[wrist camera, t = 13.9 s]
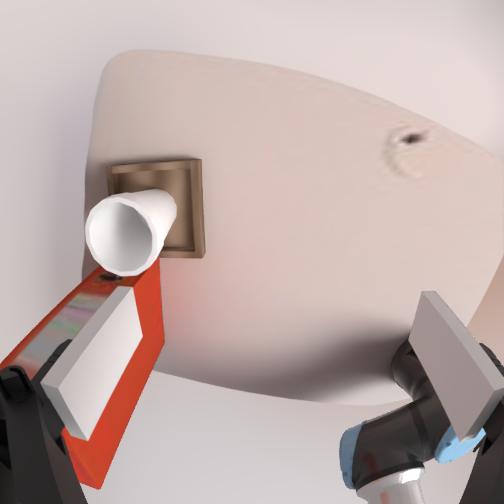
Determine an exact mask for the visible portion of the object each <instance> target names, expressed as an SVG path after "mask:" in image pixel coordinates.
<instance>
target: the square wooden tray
mask: <svg viewBox="0 0 504 504" xmlns="http://www.w3.org/2000/svg"><path fill="white" fill-rule="evenodd" d="M106 169H107V182H108V192H109V196H111V195H116V194H121V193H127V192H128V193H134V192H140V191H145V190H151V189H160V190H163V191H166V192H167V193H168V194H169V195H170V196H172V197H173V199H174V201H175V204H176V206H177V211H176V218H175V220H174V222H173V224H172V226H171V228H170V230H169V232H168V234H167V236H166V238H165V240H164V245H163V247H162V249H161V251H160V253H159V255H158V257H160V258H203V256H204V254H205V234H204V214H203V191H202V161H201V160H181V161H163V162H148V163H135V164H123V165H113V166H110V167H106Z"/></svg>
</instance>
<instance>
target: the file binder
mask: <svg viewBox="0 0 504 504" xmlns="http://www.w3.org/2000/svg"><path fill="white" fill-rule="evenodd" d="M118 286H124V287H133V291H134V297H135V302H136V307H137V312H138V317H139V321H140V326H141V330H142V335H143V337H142V339H141V341H140V342H139V344H138V346H137V348H136V350H135V351H134V353H133V355H132V357H131V359H130V361H129V362H128V364H127V366H126V368H125V370H124V372H123V374H122V375H121V377H120V379H119V381H118V383H117V385H116V387H115V389H114V391H113V392H112V394H111V396H110V398H109V400H108V402H107V404H106V406H105V408H104V410H103V412H102V414H101V416H100V418H99V420H98V422H97V424H96V426H95V428H94V430H93V432H92V434H91V436H90V438H89V440H88V441H86V440H83V439H80V438H77V437H74V436H71V435H70V433H69V432H68V430H67V429H66V427H64V428H63V430H62V432H61V433H62V435H63V437H64V439H65V442H66V446H67V449H68V452H69V455H70V458H71V461H72V464H73V467H74V470H75V473H76V475H77V478H78V481H79V482H80V483H82V484H85V485H87V486H90V487H93V488H95V489H98V490H99V489H101V487H102V484H103V482H104V479H105V477H106V474H107V472H108V469H109V467H110V464H111V462H112V460H113V458H114V455H115V452H116V450H117V448H118V446H119V443H120V441H121V438H122V436H123V434H124V432H125V429H126V427H127V425H128V422H129V420H130V418H131V415H132V413H133V411H134V409H135V406H136V404H137V402H138V400H139V397H140V395H141V393H142V391H143V389H144V386H145V384H146V382H147V380H148V378H149V375H150V373H151V371H152V369H153V367H154V364H155V362H156V360H157V358H158V356H159V354H160V352H161V349H162V347H163V345H164V343H165V340H164V329H163V317H162V303H161V288H160V268H159V257H157V259H156V260H155V261H154V262H153V264H152V265H151V266H150V267H149V268H147V269H146V270H144V271H143V272H141V273H140V274H138V275H136V276H119V275H117V274H114V273H112V272H109V271H107V270H105V269H104V268H103V267H102V266H101V265H100V266H99V267H98V268H97V269H96V270H95V271H93V272H92V273H91V274H90V275H89V276H88V277H87V278H86V279H85V280H83V281H82V282H81V283H80V284H79V285H78V286H77V287H76V288H75V289H74V290H73V291H72V292H70V293H69V294H68V295H67V296H66V297H65V298H64V299H63V300H62V301H61V302H60V303H59V304H58V305H57V306H56V307H55V308H54V309H53V310H52V311H51V312H50V313H49V314H48V315H47V316H46V317H45V318H44V319H43V320H42V321H41V322H40V323H39V324H38V325H37V326H36V327H35V328H34V329H33V330H32V331H31V332H30V333H29V334H28V335H27V336H26V337H25V338H24V339H23V340H22V341H21V342H20V343H19V344H18V345H17V346H16V347H15V349H13V350H12V352H11V353H10V354H9V355H8V356H7V357H6V358H5V359H4V360H3V361H2V363H1V364H0V371H1V370H2V369H3V368H5V367H8V366H12V365H17V366H21V367H22V368H24V369H25V371H26V373H27V375H28V377H29V379H30V381H31V380H32V378H33V377H34V376H35V374H36V373H37V372H38V371H39V369H40V368H41V367H42V365H43V364H44V363H45V362H47V359H48V358H49V357H50V355H52V353H53V352H54V350H55V349H56V348H57V347H58V346H59V345H60V344H61V343H63V342H64V341H66V340H67V339H72V340H73V339H74V338H75V337H76V336H77V334H78V333H79V332H80V331H81V329H82V328H83V327H84V326H85V325H86V323H87V322H88V321H89V320H90V318H91V317H92V316H93V315H94V314H95V312H96V311H97V310H98V309H99V308H100V307H101V305H102V304H103V303H104V302H105V301H106V299H107V298H108V297H109V296H110V295H111V294H112V293H113V291H114V290H115V289H116V288H117V287H118Z"/></svg>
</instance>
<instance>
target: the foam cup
mask: <svg viewBox="0 0 504 504" xmlns="http://www.w3.org/2000/svg"><path fill="white" fill-rule="evenodd" d="M176 211H177V206H176V204H175V201H174V199H173V197H172V196H170V195H169V194H168V193H167V192H166V191H163V190H160V189H151V190H145V191H140V192H134V193H128V192H127V193H121V194H116V195H111V196H109V197H107V198H105V199H103V200H102V201H101V202H99V203H98V204H97V205H96V206H95V207H94V208H93V209H91V211H90V214H89V216H88V219H87V222H86V224H85V231H86V243H87V245H88V247H89V249H90V251H91V254H92V256H93V258H94V259H95V260H96V261H97V262H98V263H99V264H100V265H101V266H102V267H103V268H104V269H105V270H107V271H109V272H112V273H114V274H117V275H119V276H136V275H138V274H140V273H141V272H143V271H144V270H146V269H147V268H149V267H150V266H151V265H152V264H153V262H154V261H155V260H156V259H157V257H158V255H159V253H160V251H161V249H162V247H163V245H164V240H165V238H166V236H167V234H168V232H169V230H170V228H171V226H172V224H173V222H174V220H175V218H176Z"/></svg>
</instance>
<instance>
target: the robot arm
mask: <svg viewBox="0 0 504 504" xmlns="http://www.w3.org/2000/svg"><path fill="white" fill-rule="evenodd" d="M142 337H143V335H142V330H141V326H140V321H139V317H138V312H137V307H136V302H135V297H134V291H133V287H124V286H118V287H117V288H116V289H115V290H114V291H113V293H112V294H111V295H110V296H109V297H108V298H107V299H106V301H105V302H104V303H103V304H102V305H101V307H100V308H99V309H98V310H97V311H96V312H95V314H94V315H93V316H92V317H91V318H90V320H89V321H88V322H87V323H86V325H85V326H84V327H83V328H82V329H81V331H80V332H79V333H78V334H77V336H76V337H75V338H74V339H73V340H72V339H67V340H66V341H64V342H63V343H61V344H60V345H59V346H58V347H57V348H56V349H55V350H54V352H53V353H52V355H50V357H49V358H48V359H47V362H45V363H44V364H43V365H42V367H41V368H40V369H39V371H38V372H37V373H36V374H35V376H34V377H33V378H32V380H31V381H30V379H29V377H28V375H27V373H26V371H25V369H24V368H22V367H21V366H17V365H12V366H8V367H5V368H3V369H2V370H1V371H0V504H88V503H87V501H86V498H85V496H84V493H83V491H82V489H81V486H80V483H79V481H78V478H77V475H76V473H75V470H74V467H73V464H72V461H71V458H70V455H69V452H68V449H67V446H66V442H65V439H64V437H63V435H62V433H61V432H62V430H63V428H64V427H66V429H67V430H68V432H69V433H70V435H71V436H74V437H77V438H80V439H83V440H86V441H88V440H89V438H90V436H91V434H92V432H93V430H94V428H95V426H96V424H97V422H98V420H99V418H100V416H101V414H102V412H103V410H104V408H105V406H106V404H107V402H108V400H109V398H110V396H111V394H112V392H113V391H114V389H115V387H116V385H117V383H118V381H119V379H120V377H121V375H122V374H123V372H124V370H125V368H126V366H127V364H128V362H129V361H130V359H131V357H132V355H133V353H134V351H135V350H136V348H137V346H138V344H139V342H140V341H141V339H142ZM391 370H392V374H393V377H394V379H395V381H396V383H397V384H398V385H399V386H400V387H401V388H402V389H404V390H405V391H406V392H407V393H408V394H409V395H410V396H411V397H412V399H413V402H411V403H409V404H407V405H404V406H402V407H400V408H398V409H396V410H393V411H391V412H388V413H386V414H383V415H381V416H378V417H376V418H373V419H371V420H368V421H363V422H362V423H361V424H359V425H357V426H354V427H352V428H349V429H348V430H346V431H345V432H344V434H343V436H342V438H341V440H340V449H339V457H340V467H341V471H342V472H343V474H342V475H343V480H344V483H345V485H346V486H347V488H349V489H356V493H357V496H358V497H361V498H363V499H365V500H366V501H368V504H425V502H424V498H423V495H422V491H421V488H420V480H421V479H422V477H423V475H424V474H425V468H424V465H423V463H424V462H426V461H428V460H431V459H433V458H435V460H437V461H438V462H439V463H447V462H448V461H450V462H451V461H453V460H455V459H457V458H459V457H460V456H462V455H464V454H465V453H467V451H469V450H470V449H472V448H473V447H474V446H475V445H476V444H477V443H478V442H479V441H480V442H479V443H478V444H477V446H476V447H475V448H474V450H473V452H475V451H476V450H477V449H478V448H479V451H478V454H477V457H476V460H475V463H474V466H473V469H472V472H471V475H470V478H469V480H468V483H467V486H466V488H465V491H464V493H463V496H462V498H461V500H460V503H459V504H504V367H503V366H502V365H501V363H500V361H499V360H498V359H497V358H496V356H495V355H494V353H493V352H492V351H491V350H490V349H489V348H488V347H486V346H485V345H484V344H482V343H478V342H477V341H476V339H475V338H474V337H473V336H472V334H471V333H470V332H469V331H468V329H467V328H466V327H465V326H464V324H463V323H462V322H461V321H460V320H459V318H458V317H457V316H456V315H455V314H454V312H453V311H452V310H451V309H450V308H449V306H448V305H447V304H446V303H445V302H444V301H443V299H442V298H441V297H440V296H439V295H438V294H437V292H436V291H422V292H421V296H420V300H419V304H418V308H417V312H416V315H415V319H414V322H413V326H412V329H411V332H410V336H409V339H408V340H407V341H406V342H405V343H404V344H403V345H402V346H401V347H400V348H399V350H398V351H397V353H396V354H395V356H394V358H393V361H392V366H391Z"/></svg>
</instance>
